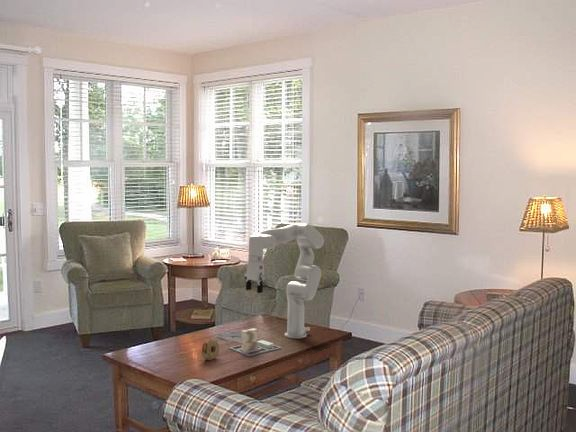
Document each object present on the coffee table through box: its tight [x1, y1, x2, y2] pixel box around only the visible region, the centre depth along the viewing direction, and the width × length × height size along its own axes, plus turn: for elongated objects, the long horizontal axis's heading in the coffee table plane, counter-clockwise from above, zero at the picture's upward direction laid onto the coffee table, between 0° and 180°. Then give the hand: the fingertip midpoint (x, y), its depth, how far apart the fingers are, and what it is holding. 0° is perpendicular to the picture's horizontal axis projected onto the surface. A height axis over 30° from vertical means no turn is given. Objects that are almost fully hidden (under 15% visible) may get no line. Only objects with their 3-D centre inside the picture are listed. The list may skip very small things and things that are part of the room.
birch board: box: [240, 327, 258, 352], centre depth 326 cm, size 8×3×12 cm, turn 131°
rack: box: [228, 339, 283, 358], centre depth 329 cm, size 22×17×2 cm
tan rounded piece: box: [201, 338, 220, 361], centre depth 314 cm, size 10×4×10 cm, turn 143°
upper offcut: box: [257, 339, 275, 350], centre depth 333 cm, size 4×9×2 cm, turn 44°
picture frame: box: [216, 329, 265, 344], centre depth 352 cm, size 16×2×22 cm
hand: (254, 291), depth 330 cm, fingers open, 9 cm apart
